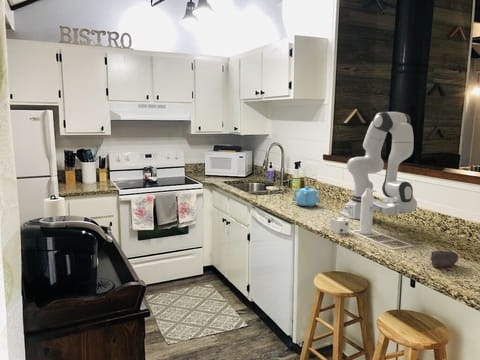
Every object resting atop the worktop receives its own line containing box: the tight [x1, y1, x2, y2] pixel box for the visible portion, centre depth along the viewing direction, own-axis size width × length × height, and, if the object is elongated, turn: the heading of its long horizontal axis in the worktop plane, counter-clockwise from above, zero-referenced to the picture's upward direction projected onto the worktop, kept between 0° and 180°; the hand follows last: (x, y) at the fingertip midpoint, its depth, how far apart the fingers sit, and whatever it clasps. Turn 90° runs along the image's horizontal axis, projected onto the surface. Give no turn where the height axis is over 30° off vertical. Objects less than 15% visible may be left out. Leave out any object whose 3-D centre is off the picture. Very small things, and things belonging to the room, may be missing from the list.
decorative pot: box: [292, 186, 321, 208], centre depth 273 cm, size 16×16×14 cm
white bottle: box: [359, 188, 377, 236], centre depth 206 cm, size 9×6×25 cm
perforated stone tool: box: [430, 250, 459, 268], centre depth 164 cm, size 15×5×7 cm, turn 108°
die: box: [330, 216, 350, 235], centre depth 211 cm, size 7×7×7 cm
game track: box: [349, 229, 415, 251], centre depth 200 cm, size 31×14×1 cm, turn 25°
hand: (366, 207), depth 207 cm, fingers closed on white bottle, 6 cm apart
